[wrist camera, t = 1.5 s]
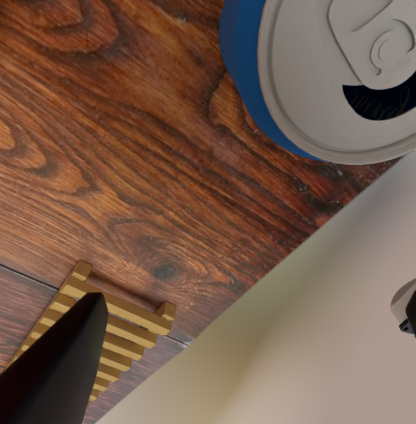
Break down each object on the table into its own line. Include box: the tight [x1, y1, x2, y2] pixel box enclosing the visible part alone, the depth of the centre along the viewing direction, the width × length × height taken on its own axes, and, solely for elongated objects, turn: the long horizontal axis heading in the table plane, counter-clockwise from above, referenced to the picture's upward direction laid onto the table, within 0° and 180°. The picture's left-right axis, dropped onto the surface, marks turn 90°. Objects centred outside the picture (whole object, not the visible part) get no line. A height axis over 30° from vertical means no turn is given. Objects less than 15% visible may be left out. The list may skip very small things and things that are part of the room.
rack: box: [3, 260, 176, 407], centre depth 31 cm, size 24×10×2 cm, turn 143°
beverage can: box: [219, 0, 416, 165], centre depth 11 cm, size 6×6×12 cm
